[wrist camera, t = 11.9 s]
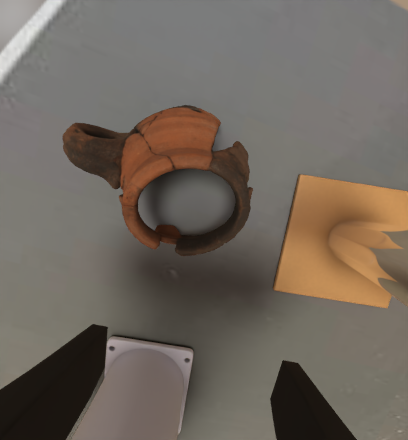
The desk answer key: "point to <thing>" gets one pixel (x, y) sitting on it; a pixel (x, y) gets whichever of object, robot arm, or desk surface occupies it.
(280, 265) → the coaster
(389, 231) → the milkshake
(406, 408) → the desk surface
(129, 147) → the broken clay pot
